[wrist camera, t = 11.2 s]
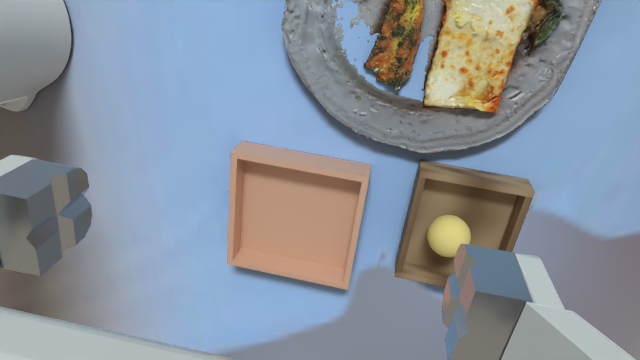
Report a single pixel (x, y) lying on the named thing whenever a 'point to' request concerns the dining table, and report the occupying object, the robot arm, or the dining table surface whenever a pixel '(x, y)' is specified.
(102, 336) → the robot arm
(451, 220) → the ball
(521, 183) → the tray
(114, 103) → the dining table surface
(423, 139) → the food plate
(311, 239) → the dish
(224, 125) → the dining table surface
